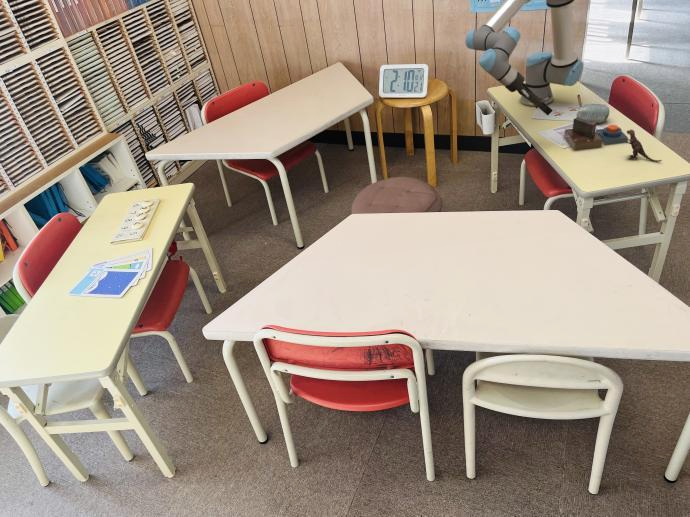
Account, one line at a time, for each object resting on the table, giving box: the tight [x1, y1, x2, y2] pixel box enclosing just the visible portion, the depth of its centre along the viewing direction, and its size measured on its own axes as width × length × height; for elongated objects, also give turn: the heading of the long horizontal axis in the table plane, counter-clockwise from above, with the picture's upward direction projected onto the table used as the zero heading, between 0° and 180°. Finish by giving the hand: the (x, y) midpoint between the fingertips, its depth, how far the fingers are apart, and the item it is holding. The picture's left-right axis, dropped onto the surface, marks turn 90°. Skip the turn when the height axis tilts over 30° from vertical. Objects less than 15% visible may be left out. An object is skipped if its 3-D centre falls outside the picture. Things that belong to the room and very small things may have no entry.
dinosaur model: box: [626, 129, 663, 163], centre depth 207 cm, size 4×12×15 cm
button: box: [607, 124, 619, 132], centre depth 225 cm, size 4×4×2 cm
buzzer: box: [595, 126, 629, 146], centre depth 227 cm, size 11×9×4 cm
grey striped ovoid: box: [575, 103, 610, 124], centre depth 240 cm, size 14×10×10 cm
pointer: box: [572, 117, 597, 138], centre depth 225 cm, size 10×2×6 cm, turn 28°
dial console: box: [563, 128, 603, 152], centre depth 228 cm, size 14×14×4 cm
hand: (549, 112), depth 224 cm, fingers closed
